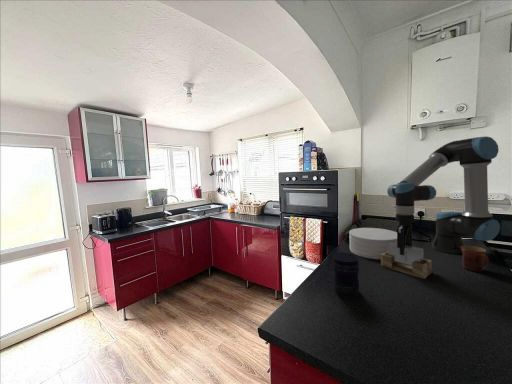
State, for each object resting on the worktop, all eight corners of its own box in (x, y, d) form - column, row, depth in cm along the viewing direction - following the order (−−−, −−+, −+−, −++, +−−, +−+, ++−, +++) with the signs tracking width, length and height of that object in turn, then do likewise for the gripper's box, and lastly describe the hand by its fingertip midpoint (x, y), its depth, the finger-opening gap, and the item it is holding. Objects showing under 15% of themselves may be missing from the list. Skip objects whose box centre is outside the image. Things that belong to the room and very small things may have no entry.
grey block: (391, 256, 113) (391, 242, 112) (423, 264, 101) (423, 248, 101) (387, 259, 110) (387, 244, 109) (420, 267, 99) (420, 251, 98)
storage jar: (348, 300, 82) (347, 263, 81) (329, 289, 91) (327, 256, 90) (364, 293, 87) (363, 258, 86) (344, 283, 96) (343, 251, 95)
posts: (388, 260, 116) (388, 250, 116) (431, 272, 101) (432, 260, 101) (380, 266, 111) (380, 254, 110) (425, 278, 95) (425, 266, 95)
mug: (455, 265, 107) (455, 245, 106) (476, 265, 105) (476, 245, 105) (474, 276, 95) (475, 254, 95) (498, 277, 94) (498, 254, 93)
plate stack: (399, 247, 136) (399, 229, 136) (401, 263, 113) (401, 242, 112) (352, 242, 152) (352, 226, 151) (346, 255, 128) (345, 236, 127)
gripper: (403, 210, 112) (403, 253, 114) (388, 215, 102) (389, 262, 103) (420, 212, 106) (419, 257, 108) (406, 217, 96) (406, 266, 97)
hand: (404, 259), depth 105 cm, fingers closed on grey block, 4 cm apart
